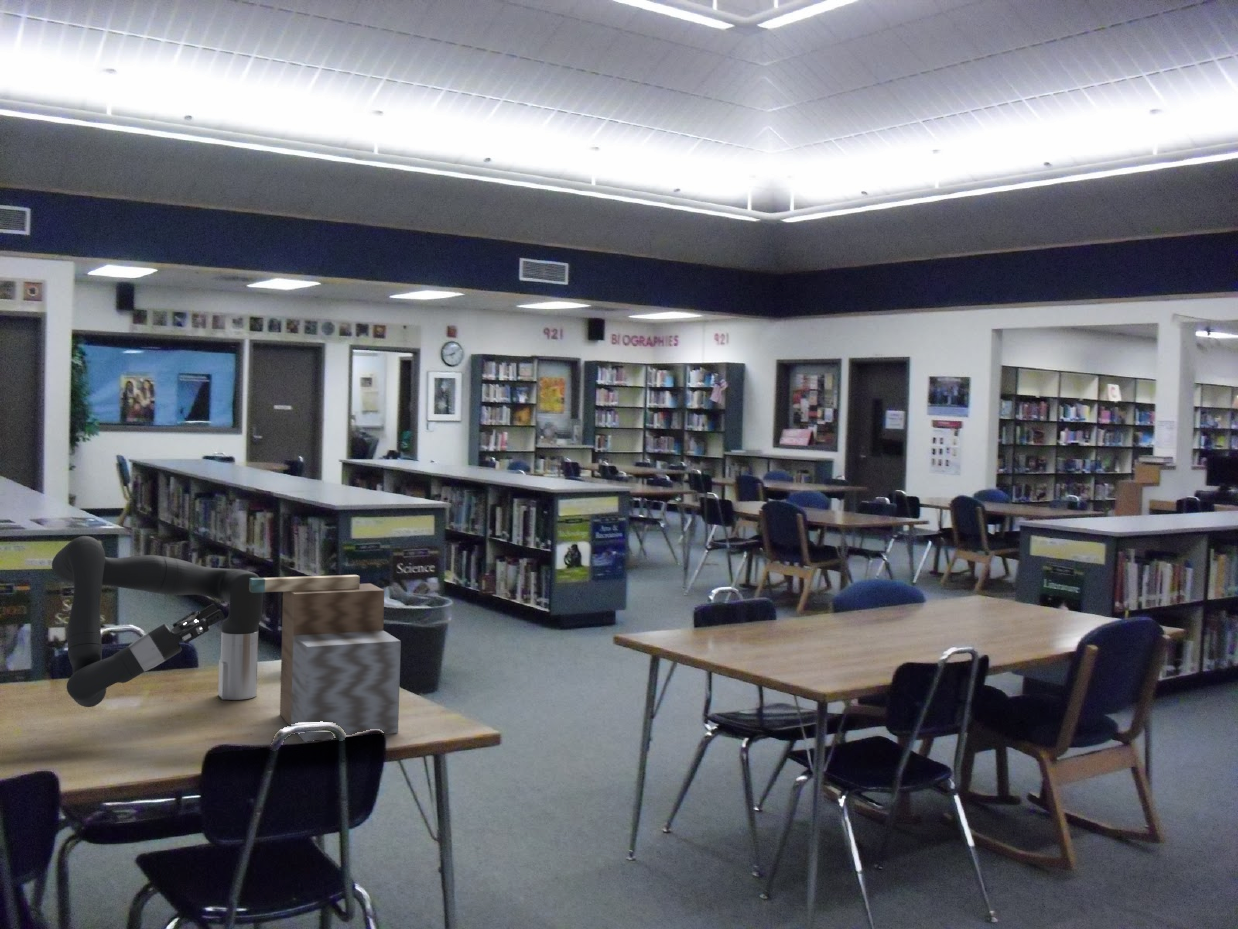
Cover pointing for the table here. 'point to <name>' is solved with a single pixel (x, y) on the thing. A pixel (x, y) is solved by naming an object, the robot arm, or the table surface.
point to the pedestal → (339, 661)
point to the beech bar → (303, 583)
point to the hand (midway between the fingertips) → (219, 610)
